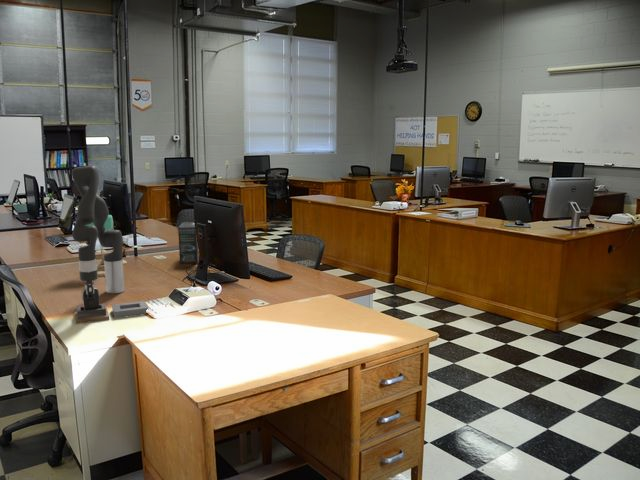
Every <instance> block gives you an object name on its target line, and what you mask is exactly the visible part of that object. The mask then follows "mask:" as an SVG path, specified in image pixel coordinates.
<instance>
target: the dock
mask: <svg viewBox="0 0 640 480" xmlns="http://www.w3.org/2000/svg"><path fill="white" fill-rule="evenodd" d="M111 307H112V313H113V317H114V319H120V318H127V317H126V316H128V317H135V315H136V316H142V315H141V314H144V315H147V314H146V310H147V309H148V310H149V306H148V304H147V303H146V301H145V300H141V301H133V302H124V303H123V302H122V303H117V304H112V306H111Z"/></svg>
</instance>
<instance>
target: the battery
mask: <svg viewBox="0 0 640 480" xmlns="http://www.w3.org/2000/svg"><path fill="white" fill-rule="evenodd" d="M99 295H100V293H99V289H98V288H97V287H94V299H93V300H94V307H89V304H88V295H87V294H86V288H83V289H82V290H81V298H82V299H81V300H82V302H83V303H82V304H83V305H82V306H84V310H92V309H99V304H100V296H99ZM89 296H92V295H89Z"/></svg>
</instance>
